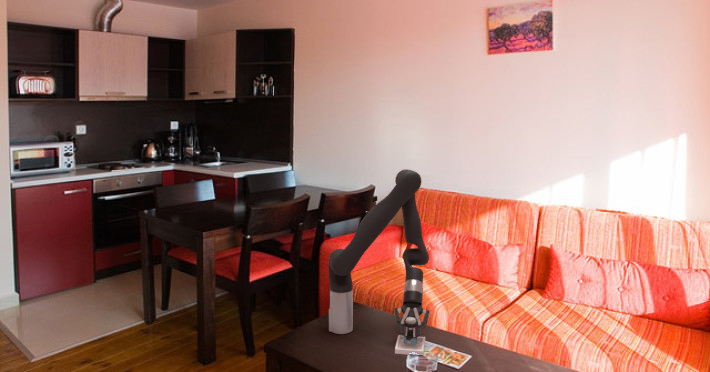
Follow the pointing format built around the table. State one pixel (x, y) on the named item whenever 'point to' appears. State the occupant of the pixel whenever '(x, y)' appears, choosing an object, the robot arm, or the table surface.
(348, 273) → the robot arm
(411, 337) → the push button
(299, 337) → the table surface
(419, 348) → the white button tray
